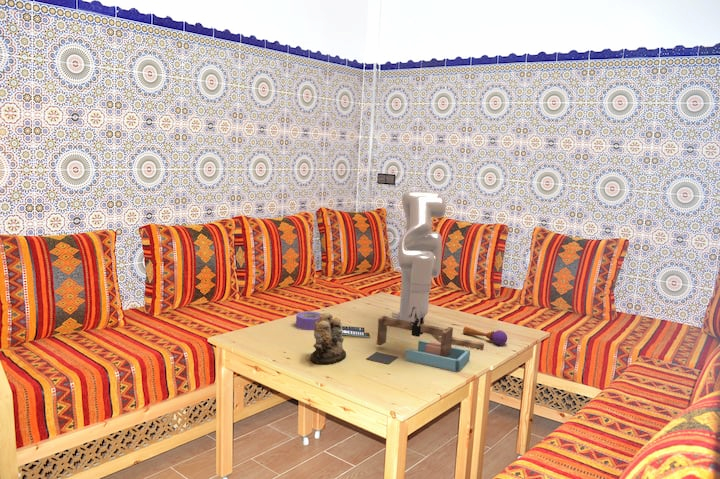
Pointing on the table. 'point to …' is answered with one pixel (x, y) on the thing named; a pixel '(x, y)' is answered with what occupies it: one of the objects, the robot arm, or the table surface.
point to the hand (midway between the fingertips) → (417, 334)
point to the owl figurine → (328, 340)
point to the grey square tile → (382, 358)
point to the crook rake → (445, 333)
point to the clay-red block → (433, 348)
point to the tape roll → (307, 320)
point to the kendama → (488, 335)
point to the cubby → (439, 357)
